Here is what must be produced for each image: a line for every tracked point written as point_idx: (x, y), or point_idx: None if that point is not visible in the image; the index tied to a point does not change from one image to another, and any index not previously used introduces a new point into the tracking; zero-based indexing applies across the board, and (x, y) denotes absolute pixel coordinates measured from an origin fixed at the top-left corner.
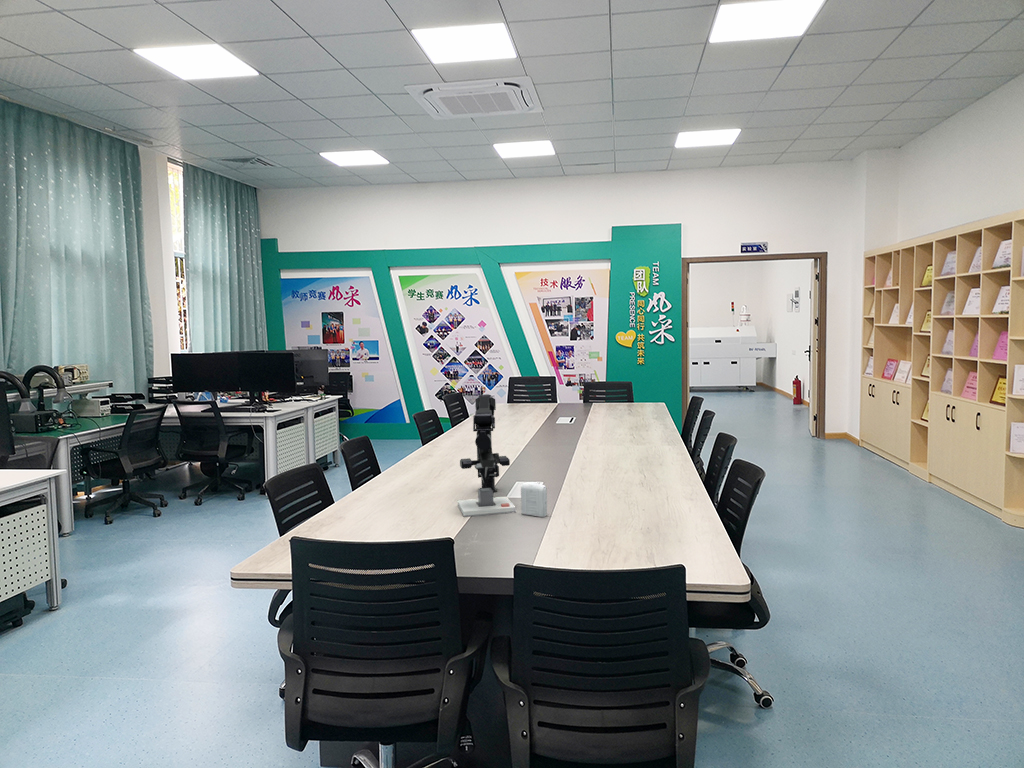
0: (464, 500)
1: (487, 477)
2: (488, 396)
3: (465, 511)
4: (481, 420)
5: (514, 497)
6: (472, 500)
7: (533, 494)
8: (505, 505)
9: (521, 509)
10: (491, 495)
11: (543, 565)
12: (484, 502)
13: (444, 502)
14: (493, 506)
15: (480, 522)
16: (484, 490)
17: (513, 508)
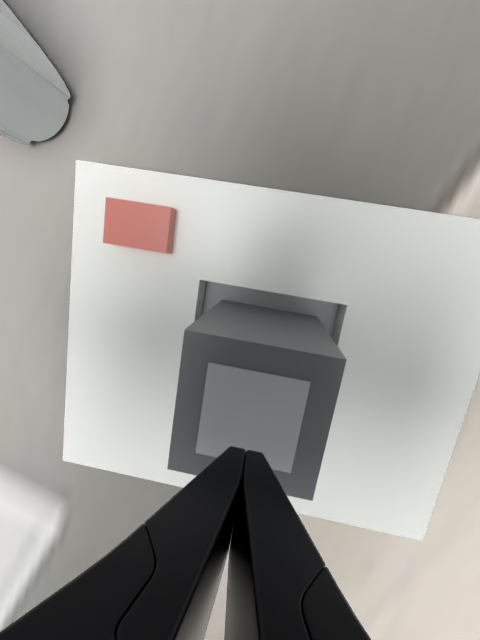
0: (373, 517)
1: (190, 510)
2: None
3: None
4: None
5: (20, 489)
6: (319, 488)
7: None
8: (142, 203)
9: (48, 74)
10: (215, 323)
11: None
12: (289, 321)
13: (454, 609)
14: (231, 262)
15: (442, 12)
16: (276, 388)
17: (97, 164)
